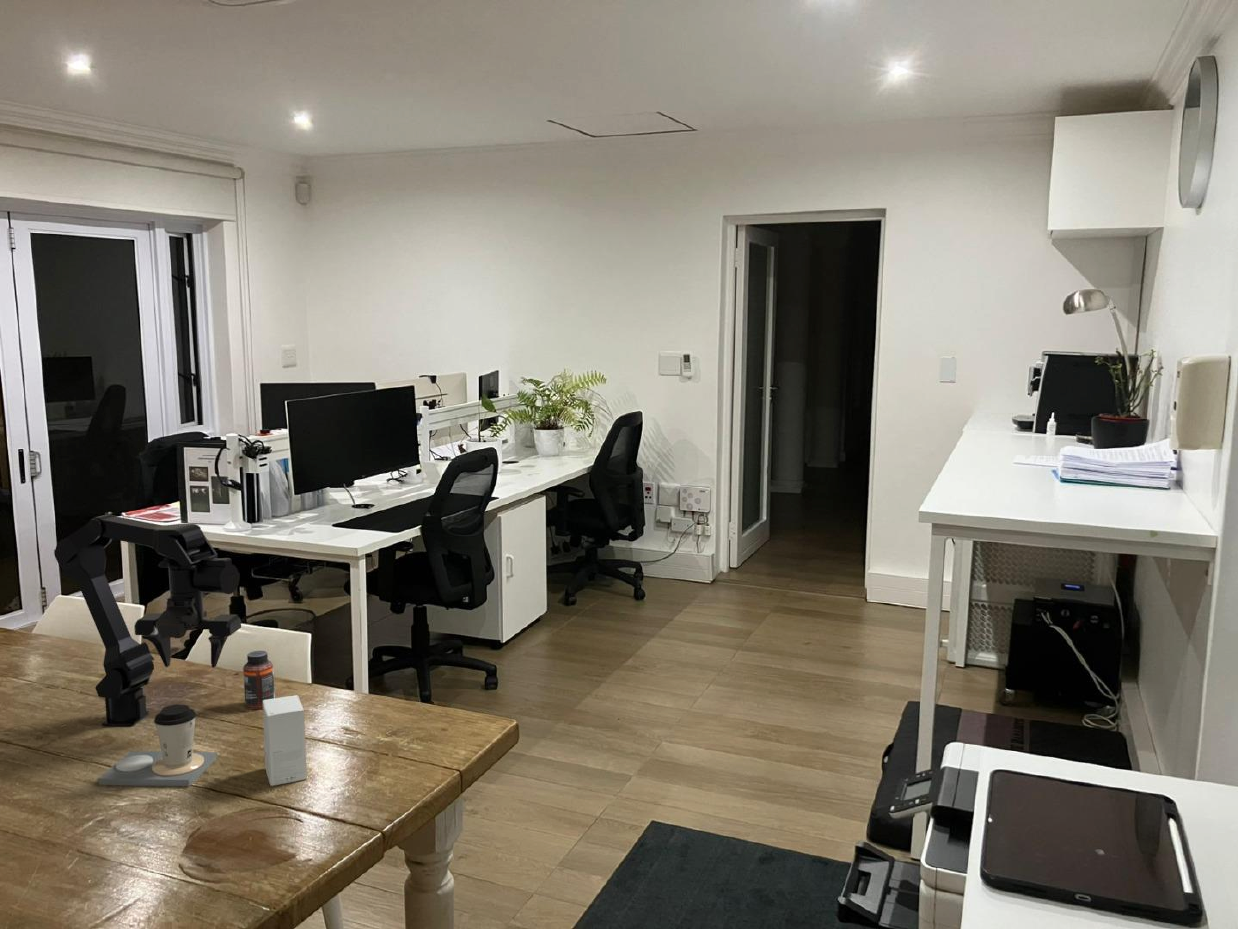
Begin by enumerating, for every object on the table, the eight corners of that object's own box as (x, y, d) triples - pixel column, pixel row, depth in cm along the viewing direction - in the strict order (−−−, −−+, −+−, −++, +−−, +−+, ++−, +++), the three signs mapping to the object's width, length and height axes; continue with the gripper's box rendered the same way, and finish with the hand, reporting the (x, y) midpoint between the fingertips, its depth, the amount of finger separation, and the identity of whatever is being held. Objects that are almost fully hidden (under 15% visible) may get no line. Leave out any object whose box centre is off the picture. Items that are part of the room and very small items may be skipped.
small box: (307, 780, 172) (304, 710, 170) (269, 787, 169) (266, 716, 167) (301, 761, 179) (298, 694, 177) (264, 768, 176) (261, 699, 174)
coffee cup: (205, 763, 174) (202, 710, 173) (165, 775, 169) (161, 721, 168) (190, 750, 179) (187, 699, 178) (151, 762, 174) (147, 709, 173)
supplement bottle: (280, 699, 207) (277, 649, 206) (267, 711, 202) (264, 658, 200) (253, 698, 208) (250, 648, 206) (239, 709, 202) (237, 657, 200)
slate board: (98, 785, 169) (98, 776, 169) (131, 757, 180) (131, 748, 180) (189, 786, 169) (188, 778, 168) (216, 758, 180) (216, 750, 179)
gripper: (116, 601, 180) (122, 681, 182) (215, 602, 180) (220, 682, 182) (146, 584, 191) (151, 660, 193) (240, 586, 191) (244, 662, 193)
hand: (190, 666), depth 190 cm, fingers open, 9 cm apart
